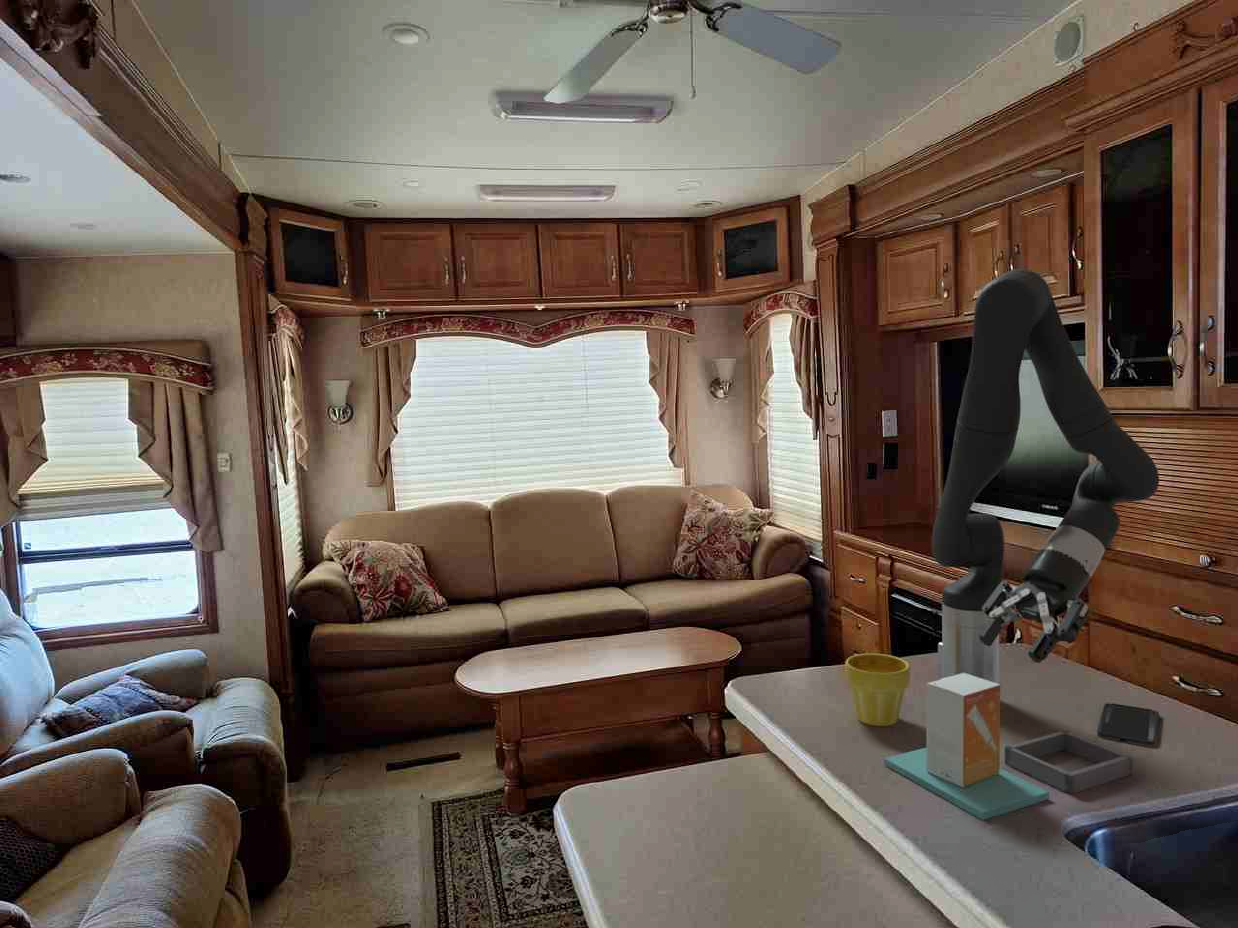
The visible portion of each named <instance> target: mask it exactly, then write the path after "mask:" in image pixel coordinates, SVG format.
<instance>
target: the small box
mask: <svg viewBox="0 0 1238 928" xmlns="http://www.w3.org/2000/svg"><path fill="white" fill-rule="evenodd" d="M925 723H926V727H925V728H926V743H925V744H926V747H925V748H926V771H927V772H929V773H931V774H933V775H936V776H938V777H940V778H942V779H944V780H947V781H949V782H951V783H953V784H956V785H958V786H960V787H963V788H964V787H966V786H968V785H970V784H973V783H975V782H978V781H980V780H983V779H986V778H988V777H991V776H993V775H997V774H999V768H1000V762H1001V761H1000V756H1001V755H1000V752H1001V749H1000V747H1001V746H1000V745H1001V743H1000V742H1001V741H1000V739H1001V738H1000V737H1001V729H1000V728H1001V684H1000V683H999V684H997V683H994V682H991V681H988V680H985V679H982V678H978V677H975V676H972V675H969V674H966V673H961V674H958V675H954V676H950V677H945V678H942V679H940V680H938V679H937V680H935V681H930V682H927V683H926V722H925Z"/></svg>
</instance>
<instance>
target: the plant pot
mask: <svg viewBox="0 0 1238 928" xmlns="http://www.w3.org/2000/svg"><path fill="white" fill-rule="evenodd" d="M844 663H845V665H844V669H845V670H844V671H845V672H844V673H845V681H846V683H847V684H848V685H849V686H850V687H849V689H850V692H851V696H852V700H853V705H854V710H855V716H856V718H857V720H858V721H859V722H861V723H863V724H865V725H870V726H874V727H889V726H893V725H895V724H896V723H897V722H898V720H899V716H900V712H901V711H900V710H901V707H902V703H903V702H902V701H903V699H904V694H905V691H906V689H907V688H908V687H909V685H910V677H911V676H910V672H911V671H910V664H909V663H908V662H907V661H906V660H904V659H902V658H901V657H897V656H894V655H891V654H890V655H889V654H883V653H860V654H859V653H858V654H854V655H852V656H849V657H848V658H847V659H845V662H844Z"/></svg>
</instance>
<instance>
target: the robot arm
mask: <svg viewBox="0 0 1238 928" xmlns="http://www.w3.org/2000/svg"><path fill="white" fill-rule="evenodd" d="M971 344H972V346H971V354H970V364H969V369H968V372H967V376H966V379H965V384H964V387H963V393H962V397H961V402H960V406H959V410H958V415H957V419H956V424H955V429H954V430H955V431H954V437H953V443H952V444H953V445H952V450H951V455H950V456H951V457H950V461H949V467H948V471H947V476H946V481H945V484H944V488H943V491H942V492H943V493H942V495H941V499H940V503H939V505H938V508H937V509H938V510H937V512H936V516H935V519H934V523H933V528H932V534H931V550H932V555H933V558H934V559H935V561H936V562H937V564H939V565H940V566H942V567H943V568H953V569H954V568H957V569H958V568H969V570H968V572H967V573H966V574H965V575H963V576H962V577H961V578H959V579H958V580H955V581H953V582H951V583H949V584H947V585H945V586H944V587H943V589H942V593H941V603H942V604H941V619H942V621H941V623H942V624H941V625H942V626H941V627H942V629H941V630H942V632H941V634H942V641H941V642H938V644H937V680H940V679H942V678H945V677H950V676H954V675H958V674H961V673H966V674H969V675H972V676H975V677H978V678H982V679H985V680H988V681H991V682H994V683H997V684H1000V633H1001V631H1002V630H1003V626H1005V625H1008V624H1009V623H1011V622H1019V621H1020V620H1022V619H1024V620H1026V621H1027V620H1028V621H1034V622H1036V623H1038V624H1041V625H1042V627H1043V632H1044V633H1042V632H1040V633H1039V635H1038V636H1037V638H1036V640H1035V641H1034V643H1033V644H1032V646H1031V647H1030V649H1029V651H1028V657H1029V658H1030V659H1031V661H1033V662H1034V663H1037V664H1040V663H1042V661H1045V659H1047V658H1048V656H1049V654H1050V653H1051V652H1052V650H1053V648H1054V647H1055V645H1056V644H1059V643H1060V642H1066V643H1067V644H1073V643H1074V642H1075V641H1076V640H1077V637H1078V635H1079V634H1080V631H1081V630H1082V628H1083V627H1084V624H1085V623H1086V621H1087V619H1088V617H1089V615H1090V614H1091V610H1090V608H1089V607H1088V605H1087V604H1086V602H1084V600H1082V598H1079V596H1080V594H1081V593H1082V591H1083V590H1084V588H1085V587H1086V585H1087V584H1088V582H1089V581H1090V579H1091V578H1092V576H1093V574H1094V573H1095V571H1096V569H1097V568H1098V566H1099V565H1100V562H1101V560H1102V557H1103V555H1104V554H1105V552H1106V551H1107V549H1108V547H1109V545H1110V544H1111V543H1112V541H1113V539H1114V538H1115V536H1116V534H1117V533H1118V531H1119V528H1120V526H1121V520H1120V517H1119V515H1118V513H1117V512H1116V511H1115V510H1114V507H1115V506H1116V505H1117V504H1121V503H1123V504H1124V503H1131V502H1132V503H1133V502H1140V501H1145V500H1148V499H1150V498H1151V497H1153V496H1154V494H1156V492H1157V490H1158V488H1159V484H1160V476H1159V471H1158V468H1157V466H1156V464H1155V462H1154V460H1153V459H1152V457H1151V456H1150V455H1149V454H1148V453H1147V451H1146V450H1144V449H1143V447H1142V446H1140V445H1139V443H1138V442H1137V441H1135V440H1134V439H1133V438H1132V436H1131V435H1129V434H1128V433H1127V432H1126V431H1125V430H1124V429H1123V428H1121V427H1120V426H1119V425H1118V424H1117V422H1116V420H1115V418H1114V416H1113V415H1112V413H1111V412H1110V410H1109V407H1107V405H1106V403H1105V402H1104V399H1103V398H1102V397H1101V395H1100V394H1099V392H1098V390H1097V388H1096V386H1095V385H1094V384H1093V381H1092V380H1091V379H1090V377H1089V374H1088V373H1087V372H1086V370H1085V368H1084V366H1083V364H1082V363H1081V360H1080V358H1079V356H1078V354H1077V353H1076V351H1075V349H1074V346H1073V343H1072V342H1071V340H1070V338H1069V335H1068V333H1067V331H1066V329H1065V327H1064V324H1063V322H1062V320H1061V317H1060V314H1059V311H1058V308H1057V305H1056V303H1055V300H1054V298H1053V294H1052V292H1051V289H1050V286H1049V285H1048V283H1047V281H1046V279H1044V278H1043V277H1042V276H1041V274H1039V273H1038V272H1036V271H1033V270H1030V269H1027V268H1026V269H1024V268H1017V269H1012V270H1009V271H1007V272H1005V273H1002V274H1001V275H999V276H997V277H996V278H994V279H993V280H991V281H990V282H988V283H987V284H986V285H985V286H984V287H983V288H982V290H980V293H979V294H978V296H977V298H976V302H975V305H974V314H973V331H972V343H971ZM1025 351H1026V353H1027V355H1028V357H1029V358H1030V360H1031V362H1032V364H1033V367H1034V370H1035V372H1036V375H1037V378H1038V379H1037V380H1038V381H1039V385H1040V388H1041V391H1042V395H1043V398H1044V400H1045V402H1046V405H1047V408H1048V411H1050V414H1051V416H1052V418H1053V419H1054V421H1055V423H1056V424H1057V426H1058V428H1059V430H1060V432H1061V434H1062V435H1063V437H1064V438H1065V439H1066V441H1067V443H1068V445H1069V446H1070V447H1071V449H1073V450H1074V451H1075V452H1077V453H1081V454H1087V455H1088V454H1089V455H1091V456H1093V457H1095V458H1096V459H1097V460H1096V461H1094V462H1092V463H1091V464H1090V465H1088V466H1087V467H1086V468H1085V470H1083V472H1082V473H1081V474H1080V477H1079V479H1078V481H1077V484H1076V488H1075V491H1074V494H1073V497H1072V501H1071V505H1070V508H1069V510H1068V511H1067V512H1066V514H1065V515H1064V517H1063V518H1062V520H1061V521H1060V523H1059V524H1058V526H1057V528H1056V529H1055V530H1054V531H1053V532H1052V533H1051V534H1050V535H1049V536H1048V538H1047V539H1046V541H1044V544H1042V547H1041V548H1040V549H1039V550H1038V553H1037V554H1036V555H1035V557H1034V558H1033V560H1032V561H1031V563H1030V564H1029V566H1028V567H1027V569H1026V570H1025V572H1024V573H1025V574H1024V580H1023V582H1022V583H1021V584H1020V585H1017V586H1014V585H1010V583H1009V581H1007V580H1003V573H1004V572H1003V570H1004V558H1005V536H1004V530H1003V528H1002V524H1001V522H1000V521H999V519H998V518H997V516H995V515H994V514H991V513H970V511H971V508H972V506H973V504H974V503H975V500H976V498H977V497H978V496H979V494H980V493H981V492H982V491H983V489H984V488H985V487H987V485H988V484H989V483H990V482H991V481H992V480H993V479H994V477H996V475H998V474H999V472H1001V470H1002V469H1003V468H1004V467H1005V465H1006V464H1007V462H1008V461H1009V459H1010V458H1011V456H1012V454H1013V452H1014V449H1015V443H1016V440H1017V435H1018V431H1019V426H1020V420H1021V411H1022V410H1021V409H1022V408H1021V407H1022V406H1021V405H1022V404H1021V390H1020V372H1021V365H1022V361H1023V358H1024V355H1025ZM1013 607H1015V611H1014V609H1013ZM1063 614H1065V616H1064V617H1063V619H1062V621H1061V622H1060V616H1061V615H1063Z"/></svg>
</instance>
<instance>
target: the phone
mask: <svg viewBox="0 0 1238 928" xmlns="http://www.w3.org/2000/svg"><path fill="white" fill-rule="evenodd" d="M1159 721H1160V712H1159V711H1157V710H1154V709H1151V708H1150V709H1149V708H1144V707H1138V706H1131V705H1124V704H1118V703H1112V702H1108V703H1106V702H1105V704H1104V705H1103V708H1102V711H1101V716H1100V718H1099V722H1098V725H1097V728H1096V736H1097V737H1099V738H1100V737H1102V738H1101V739H1104V738H1105V740H1110V741H1114V742H1115V741H1116V742H1119V743H1127V744H1131V745H1137V746H1143V747H1148V748H1151V747H1152V748H1153V747H1156V744H1157V736H1158V729H1159Z"/></svg>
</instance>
